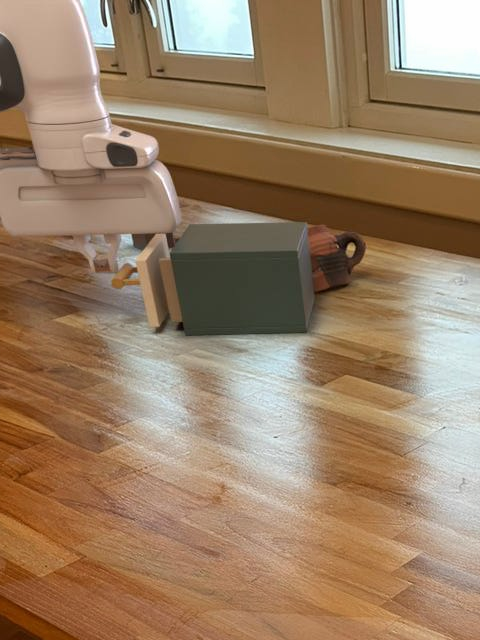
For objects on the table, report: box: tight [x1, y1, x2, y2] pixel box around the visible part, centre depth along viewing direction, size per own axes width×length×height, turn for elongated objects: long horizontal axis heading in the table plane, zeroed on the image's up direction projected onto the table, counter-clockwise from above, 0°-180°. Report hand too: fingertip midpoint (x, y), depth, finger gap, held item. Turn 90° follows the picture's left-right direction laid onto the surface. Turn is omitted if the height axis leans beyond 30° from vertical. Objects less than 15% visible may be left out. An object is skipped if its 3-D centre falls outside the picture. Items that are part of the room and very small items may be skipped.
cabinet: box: [169, 221, 316, 336], centre depth 119 cm, size 15×13×10 cm
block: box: [130, 232, 175, 251], centre depth 143 cm, size 4×4×11 cm
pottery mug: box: [307, 224, 367, 293], centre depth 132 cm, size 12×10×8 cm
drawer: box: [110, 234, 183, 328], centre depth 118 cm, size 18×11×8 cm, turn 93°
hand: (105, 272), depth 117 cm, fingers closed
